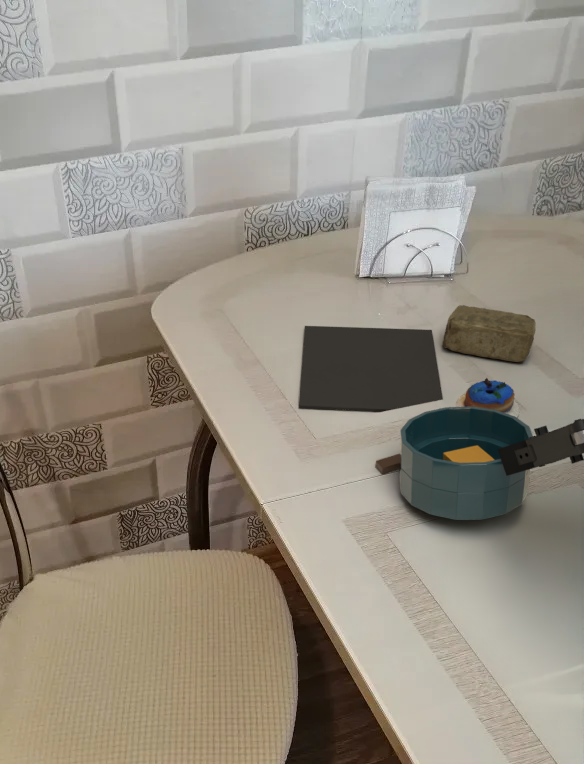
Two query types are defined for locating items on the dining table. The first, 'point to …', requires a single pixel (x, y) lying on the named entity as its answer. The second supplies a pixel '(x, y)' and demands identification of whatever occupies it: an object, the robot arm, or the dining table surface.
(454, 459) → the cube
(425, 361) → the mat
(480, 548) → the dining table surface
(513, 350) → the stone block
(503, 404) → the dessert
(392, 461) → the stop rail
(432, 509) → the bowl
